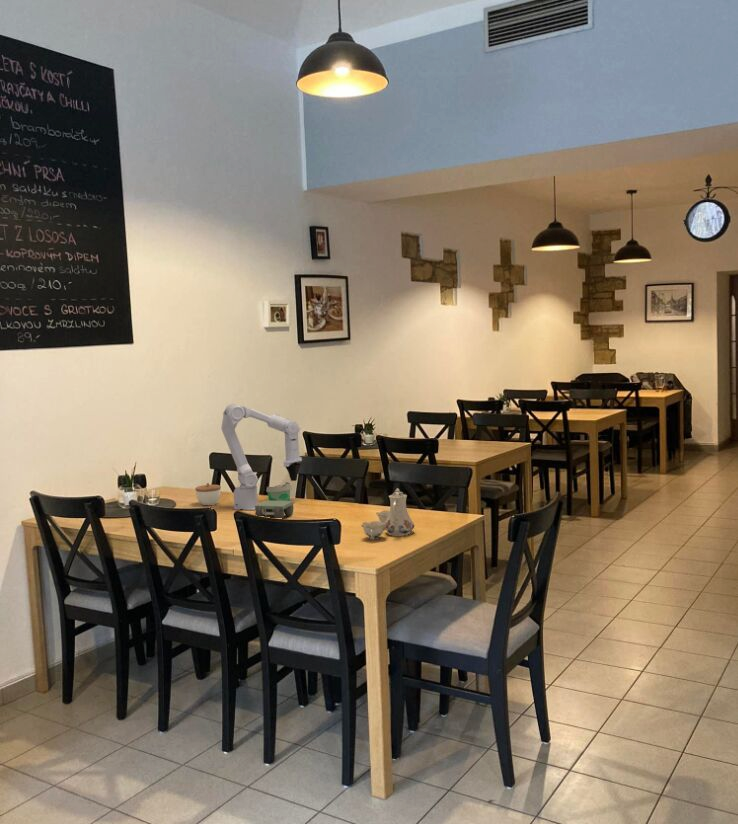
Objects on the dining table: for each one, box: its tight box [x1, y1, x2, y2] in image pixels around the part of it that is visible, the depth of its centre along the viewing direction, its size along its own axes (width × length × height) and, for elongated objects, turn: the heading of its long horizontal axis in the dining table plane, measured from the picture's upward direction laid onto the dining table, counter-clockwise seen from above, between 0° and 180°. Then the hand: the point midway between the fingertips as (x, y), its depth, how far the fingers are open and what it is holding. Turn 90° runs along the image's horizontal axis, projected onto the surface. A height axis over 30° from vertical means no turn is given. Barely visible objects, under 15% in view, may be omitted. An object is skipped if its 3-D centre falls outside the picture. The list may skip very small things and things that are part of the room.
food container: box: [265, 481, 292, 501], centre depth 335 cm, size 12×6×10 cm, turn 143°
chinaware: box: [360, 487, 415, 541], centre depth 286 cm, size 28×17×17 cm, turn 167°
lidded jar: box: [194, 482, 222, 506], centre depth 350 cm, size 11×11×9 cm
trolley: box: [254, 499, 294, 519], centre depth 318 cm, size 12×15×6 cm
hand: (293, 480), depth 346 cm, fingers closed
